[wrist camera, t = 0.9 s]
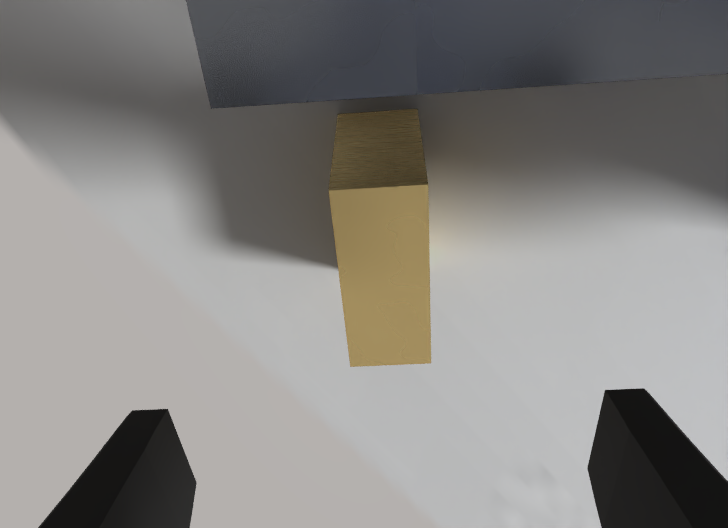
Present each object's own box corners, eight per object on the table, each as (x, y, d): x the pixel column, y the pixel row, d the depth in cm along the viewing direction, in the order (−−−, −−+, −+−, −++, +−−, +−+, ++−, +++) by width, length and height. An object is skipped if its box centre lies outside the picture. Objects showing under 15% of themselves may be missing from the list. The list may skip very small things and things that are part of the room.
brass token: (416, 107, 16) (428, 184, 12) (421, 267, 18) (430, 363, 15) (338, 113, 16) (328, 190, 12) (354, 270, 19) (350, 366, 15)
